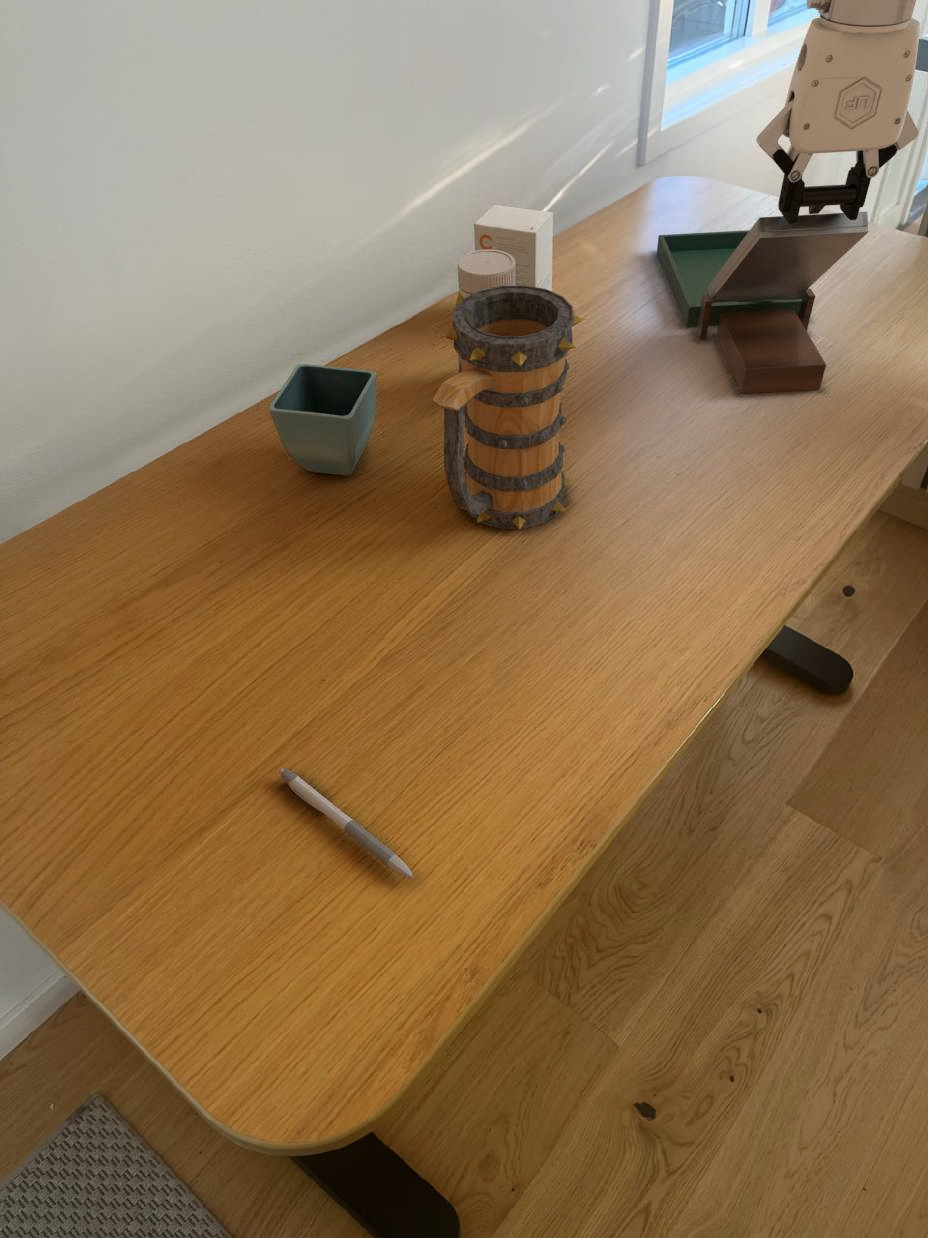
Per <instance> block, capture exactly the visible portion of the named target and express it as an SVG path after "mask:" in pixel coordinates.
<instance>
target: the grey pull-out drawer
mask: <svg viewBox="0 0 928 1238" xmlns="http://www.w3.org/2000/svg"><path fill="white" fill-rule="evenodd" d="M855 198H856V186H855V184H829V185H811V186H808V185H807V186H805V188H804V192H803V196H802V201H801V206H800V208H808V214H799V215H798V219H797V222H795V223H794V224H789V223H788V222H787V221H786V219H785V218H784V216H783V215H781V216H762V217H758V218H757V220H756V221H755V223H754V224H753V225H752V227H751V228H750V229H749V230H750V231H749V232H748V233H747V235H746V236H745V237H744V239H743V240H742V241H741V243H740V244H739V245H738V247H737V248H736V249H735V251H734V252H733V253H732V255H731V256H730V257H729V259H728V260H727V261H726V263H725V264H724V265H723V267H722V268H721V270H720V271H719V272H718V274H717V275H716V276H715V278H714V279H713V280H712V282H711V283H710V284H709V286H708V294H709V296H710V298H711V300H712V303H720V302H739V301H757V300H776V299H795V298H799V297H800V296H801V295H802V294H803V293H804V292H805V291H806V290H807V289H810V288H811V287H812V286H813V285H814V284H815V283H816V282H817V281H818V280H819V279H820V278H821V277H822V276H823V275H824V274H826V273H827V272H828V271H829V270H830V269H831V268H832V267H833V266H834V265H835V264H836V263H837V262H839V261H840V259H841V258H843V256H845V255H846V254H847V252H849V251H850V250H852V249H853V247H854V246H855V245H856V244H857V243H859V242H860V241H861V240H862V239H863V238H864V237H865V236H866V235H867V234H868V233H869V230H870V229H869V213H868V211H859V213H858V217H857V219H856V220H850V219H848V218H847V217H846V215H845V214H844V213H843V212H835V213H821V211H822V210H823V209H824V208H825V207H827V206H828V207H829V206H840V205H848V204H853V203H854V201H855Z"/></svg>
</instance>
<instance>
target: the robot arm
mask: <svg viewBox="0 0 928 1238" xmlns="http://www.w3.org/2000/svg"><path fill="white" fill-rule="evenodd" d="M916 3H917V0H806V8H807V9H809V10H810V9H812V10H813V9H814V10H816V11H817V12H818V14H819V17H815V18H813V19H812V20H811V22H810V24H809V27H808V29H807V32H806V33H805V37H804V40H803V42H802V45H801V48H800V51H799V54H798V57H797V60H796V62H795V66H794V69H793V72H792V77H791V81H790V84H789V88H788V91H787V96H786V99H785V104H784V107H783V108H782V109H781V110H780V111H779V112H778V113H777V114H776V115H775V117H773V119H772V120H771V121H770V122H769V123H768V124H767V125H766V126H765V127H764V129H763V130H762V131H760V133H759V134H758V135H757V136H756V138H755V139H756V143H757V145H758V146H759V147H760V149H761V150H762V151H763V152H764V153H765V154H766V155H767V156H768V157H769V158H770V159H771V160H772V161H773V162H774V164H776V165H777V167H778V168H779V169H780V171H781V172H782V173H783V177H782V184H781V188H780V193H779V199H778V204H777V207H778V211H779V212H780V213H781V216H784V218H785V219H786V221H787V222H788V223H789V224H794V223H795V222H797V219H798V215H800V209H801V207H800V206H801V201H802V196H803V192H804V188H805V187H806V183H805V181H804V180H803V175H804V172H805V171H806V169H807V166H808V164H809V163H810V161H811V159H812V157H813V155H814V154H828V153H829V154H830V153H831V154H832V153H846V152H848V153H849V152H855V162H856V163H855V164H854V166H851V167H850V169H848V171H847V175H846V179H845V184H855V186H856V198H855V201H854V203H853V204H848V205H839V209H840V211H841V213H844V214H845V215H846V217H847V218H848V219H850V220H856V219H857V217H858V213H859V212H860V209H861V208H863V207H864V205H865V202H866V199H867V195H868V191H869V189H870V184H871V180H872V179H873V178H875V177H876V176H877V175H878V174H879V171H880V169H881V168H882V167H883V166H884V165H885V164H887V163H888V162H889V161H891V159H893V158H894V157H895V156H896V155H897V153H898V151H899V150H902V149H903V148H905V147H906V146H907V145H908V144H910V143H911V142H912V141H914V140H915V139H916V138H917V137H918V135H919V130H918V128H917V126H916V124H915V122H914V120H913V118H912V117H911V114H910V112H909V110H908V108H909V104H910V99H911V94H912V89H913V84H914V80H915V72H916V66H917V59H918V51H919V41H920V32H921V31H920V30H921V23H920V21H919V20H918V19H915V18H913V14H914V11H915V6H916ZM782 136H784V137H786V138H789V143H790V146H789V148H788V150H787V152H786V150H785V149H784V148H783V146H781V145H780V144H779V139H780V138H781V137H782ZM845 184H844V185H845Z"/></svg>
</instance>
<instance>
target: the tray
mask: <svg viewBox="0 0 928 1238" xmlns="http://www.w3.org/2000/svg"><path fill="white" fill-rule="evenodd" d="M749 231H750V229H747V230H746V229H745V230H729V231H711V232H707V231H706V232H690V233H689V232H688V233H671V234H658V237H657V248H656V255H657V258H658V261H659V263H660V266H661V268H662V270H663V273H664V276H665V278H666V280H667V283H668V285H669V287H670V290H671V293H672V295H673V298H674V300H675V303H676V305H677V307H678V309H679V312H680V315H681V317H682V320H683V322H684V324H685V327H686V328H692V327H694V328H695V327H697V326H698V320H699V313H700V307H701V300H702V294H708V286H709V284H710V283H711V282H712V280H713V279H714V278H715V276H716V275H717V274H718V272H719V271H720V270H721V268H722V267H723V265H724V264H725V263H726V261H727V260H728V259H729V257H730V256H731V255H732V253H733V252H734V251H735V249H736V248H737V247H738V245H739V244H740V243H741V241H742V240H743V239H744V237H745V236H746V235H747V233H748V232H749ZM802 297H803V294H802V295H801V296H800V297H799V298H795V299H776V300H762V301H755V302H720V303H712V306H711V313H710V319H709V325H708V327H712V326H713V327H714V326H718V323H719V317H720V313H734V312H752V311H771V310H790V309H794V311H795V313H796V314H797V316H798V313H799V309H800V305H801V301H802Z"/></svg>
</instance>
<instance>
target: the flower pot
mask: <svg viewBox="0 0 928 1238" xmlns="http://www.w3.org/2000/svg"><path fill="white" fill-rule="evenodd" d="M268 406H269V407H268V411H269V413H270V417H271V419H272V422H273V425H274V427H275V430H276V432H277V435H278V437H279V440H280V442H281V444H282V447H283V448H284V449H285V451H286V453H287V454H288V455H289V457H290V458H291V459H292V460H293V461H294V462H295V463H296V464H297V465H298V466H300V467H301V468H303V469H304V470H305V471H307V472H311V473H321V474H330V475H338V476H345V477H347V476H350V475H352V474H353V472H354V470H355V468H356V466H357V465H358V462H359V460H360V458H361V457H362V454H363V453H364V451H365V449H366V446H367V444H368V442H369V440H370V437H371V435H372V433H373V430H374V429H373V428H374V426H375V420H376V416H377V415H376V413H377V372H376V371H374V370H369V369H359V368H357V369H356V368H346V367H337V366H336V367H335V366H326V365H318V364H308V363H298V364H297V365H296V366H294V368H293V370H292V371H291V373H290V375H289V377H288V378H287V379H286V381H285V383H284V384H283V385H282V386H281V388H280V390H279V391H278V392H277V395H276V396H275V398H273V400H272V402H271V403H270V405H268Z"/></svg>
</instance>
